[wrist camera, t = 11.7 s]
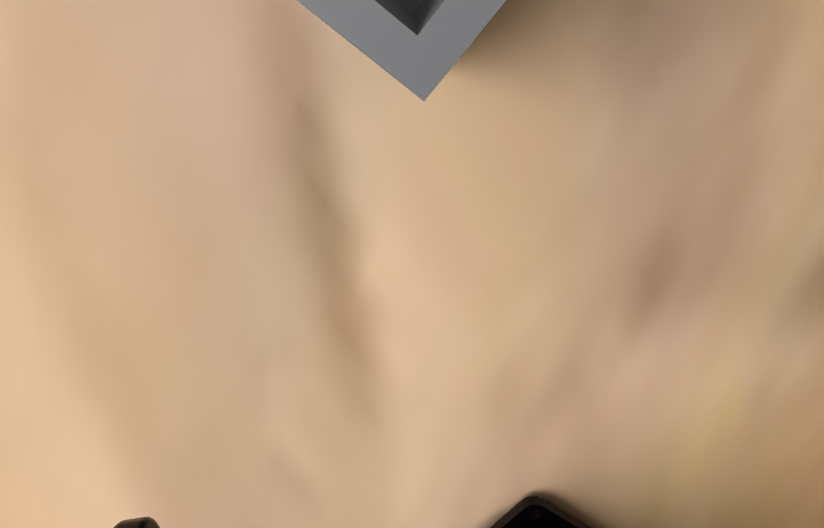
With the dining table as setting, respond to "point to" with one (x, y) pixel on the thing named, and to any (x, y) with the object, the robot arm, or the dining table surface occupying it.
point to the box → (409, 33)
